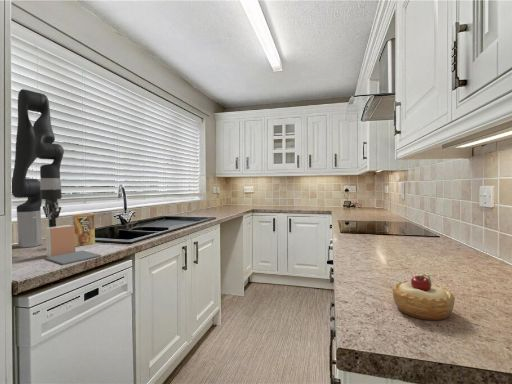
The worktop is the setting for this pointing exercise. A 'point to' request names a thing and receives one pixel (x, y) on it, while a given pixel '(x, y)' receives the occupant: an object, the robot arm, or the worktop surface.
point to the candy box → (84, 229)
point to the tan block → (60, 240)
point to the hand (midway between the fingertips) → (52, 227)
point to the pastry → (423, 299)
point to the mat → (72, 257)
